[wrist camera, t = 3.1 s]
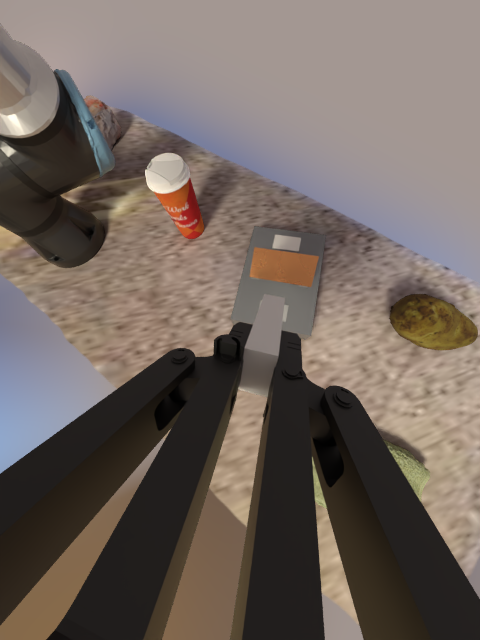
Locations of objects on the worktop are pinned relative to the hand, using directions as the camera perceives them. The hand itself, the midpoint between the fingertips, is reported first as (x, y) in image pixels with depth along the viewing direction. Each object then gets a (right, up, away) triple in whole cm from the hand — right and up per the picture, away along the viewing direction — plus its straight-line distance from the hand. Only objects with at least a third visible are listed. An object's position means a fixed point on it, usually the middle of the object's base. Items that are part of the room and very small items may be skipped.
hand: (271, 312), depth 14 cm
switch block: (+5, +7, +25) cm, 26 cm away
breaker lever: (+5, +8, +21) cm, 23 cm away
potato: (+29, -2, +20) cm, 35 cm away
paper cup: (-13, +21, +31) cm, 39 cm away
